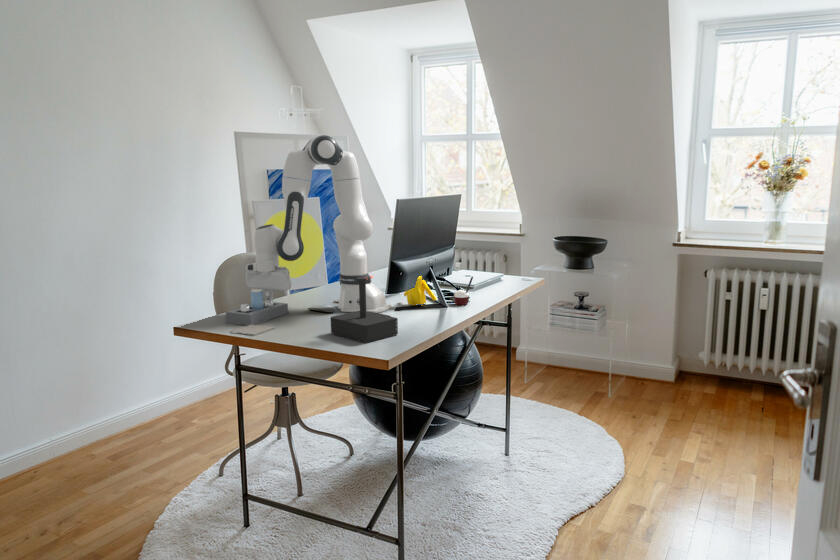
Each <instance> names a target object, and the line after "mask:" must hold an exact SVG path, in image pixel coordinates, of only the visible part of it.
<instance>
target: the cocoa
mask: <svg viewBox="0 0 840 560" xmlns="http://www.w3.org/2000/svg"><path fill="white" fill-rule="evenodd" d="M473 279H474V276H471V277H470V280H469V282H468V285H467V288H466V290H463V289H459V290H457V291H455V292H454V294H453V296H451V297H450V300H451V302H453V303H454V304H456V305H457V306H460V305H463V306H466V305H468V303H469V300H470V294H469V290H470V287H471V284H472V281H473ZM465 304H466V305H465Z"/></svg>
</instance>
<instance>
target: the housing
mask: <svg viewBox="0 0 840 560" xmlns="http://www.w3.org/2000/svg"><path fill="white" fill-rule="evenodd" d="M265 301H266V300H265ZM265 301H264V300H263V305H264V308H263V309H260V310H255V309H251V304H249V310H250V313H243V312H241V307H239V308H236V309H232V310H228V311H225V322H226V323H227V322H229V323H230V324H235V323H238V325H244V324H247V325H246V326H248V325H253V324H254V325H258V324H259V323H260V324H261V323H263V322H266V321H269V320H272V319H274V318H278V317H280V316H283V315H287V314H289V308H288V307H289V305H288V304H289V303H286V302H274V301H273V306H269V305H265Z"/></svg>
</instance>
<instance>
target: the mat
mask: <svg viewBox="0 0 840 560" xmlns="http://www.w3.org/2000/svg"><path fill="white" fill-rule="evenodd" d="M275 328H276V327H275V326H269V325H268V326H267V325H258V324H254V325H245V326H242V327H239V328H236V329H233V330H230V331H229V333H230V332H237V333H245V334H250V335H249V336H252V335H255V336H257V334H258V335H260V333H261V334H264V333H266V331H267V332H269V331H272V330H275ZM263 332H264V333H263ZM237 333H236V334H237Z"/></svg>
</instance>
